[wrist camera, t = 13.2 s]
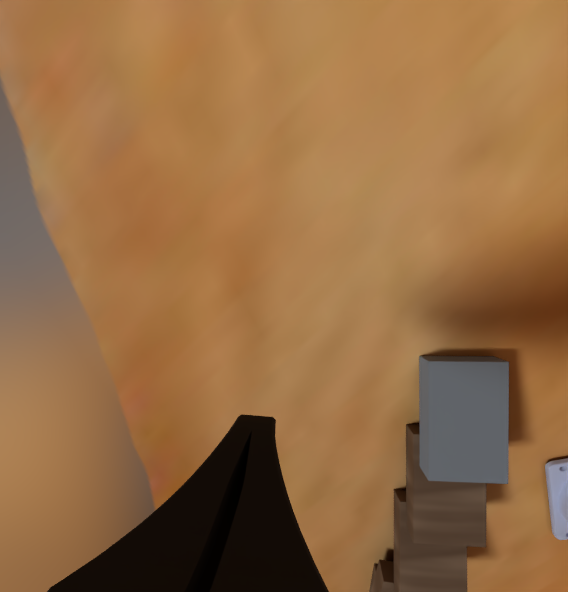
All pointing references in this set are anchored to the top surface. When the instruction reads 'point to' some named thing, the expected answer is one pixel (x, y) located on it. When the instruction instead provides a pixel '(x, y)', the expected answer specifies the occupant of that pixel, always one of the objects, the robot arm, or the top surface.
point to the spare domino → (464, 418)
